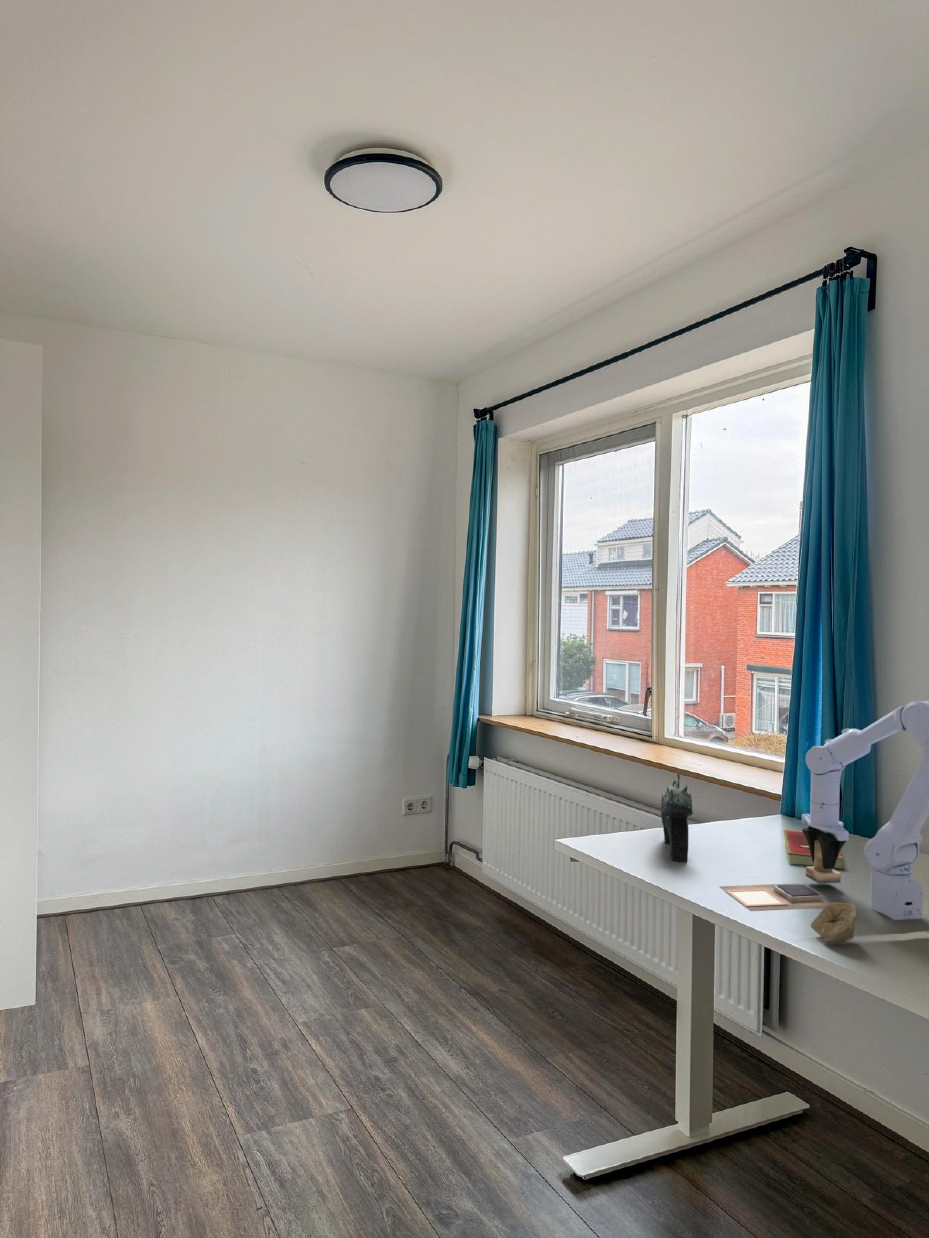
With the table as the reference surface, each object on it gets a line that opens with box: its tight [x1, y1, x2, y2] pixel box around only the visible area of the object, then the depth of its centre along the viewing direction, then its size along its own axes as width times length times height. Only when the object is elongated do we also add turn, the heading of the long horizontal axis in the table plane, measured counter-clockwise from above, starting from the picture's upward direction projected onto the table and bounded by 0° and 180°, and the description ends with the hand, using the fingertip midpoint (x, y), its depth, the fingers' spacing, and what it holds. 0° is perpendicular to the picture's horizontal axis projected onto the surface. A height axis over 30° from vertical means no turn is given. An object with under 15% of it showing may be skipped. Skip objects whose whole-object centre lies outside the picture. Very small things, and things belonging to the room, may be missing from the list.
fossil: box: [810, 901, 858, 943], centre depth 158 cm, size 9×4×10 cm
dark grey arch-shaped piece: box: [660, 771, 694, 863], centre depth 210 cm, size 20×6×20 cm, turn 173°
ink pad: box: [774, 883, 824, 902], centre depth 177 cm, size 7×7×1 cm
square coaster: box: [724, 889, 788, 908], centre depth 176 cm, size 9×9×1 cm
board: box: [718, 883, 831, 912], centre depth 177 cm, size 14×18×1 cm
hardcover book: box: [783, 829, 845, 870], centre depth 207 cm, size 12×21×4 cm, turn 162°
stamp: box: [805, 840, 842, 884], centre depth 184 cm, size 5×5×8 cm
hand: (823, 865), depth 184 cm, fingers closed on stamp, 4 cm apart
